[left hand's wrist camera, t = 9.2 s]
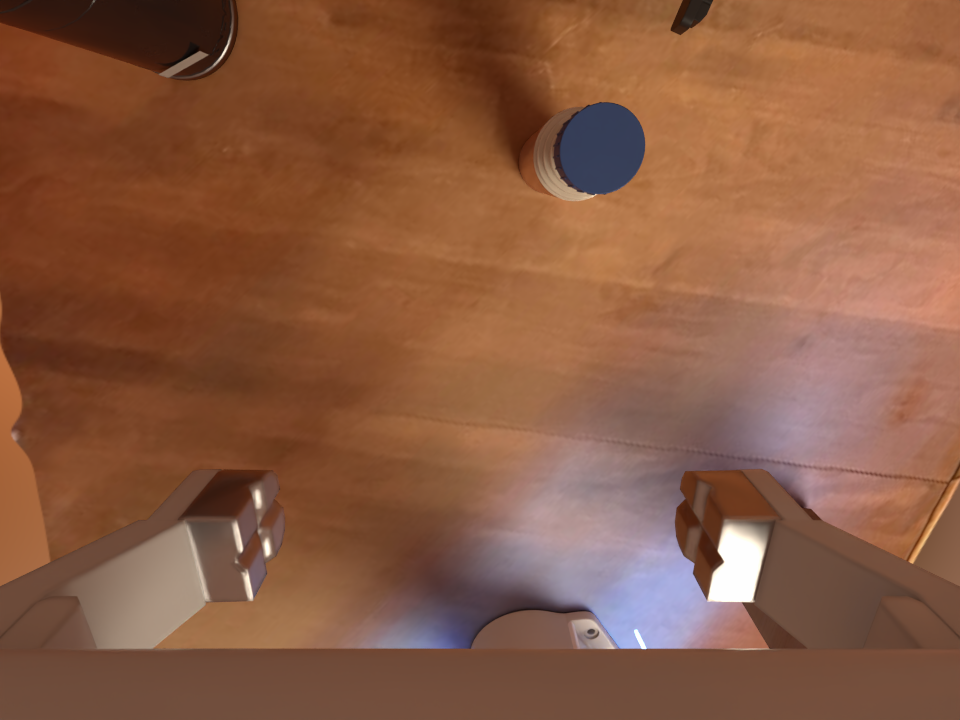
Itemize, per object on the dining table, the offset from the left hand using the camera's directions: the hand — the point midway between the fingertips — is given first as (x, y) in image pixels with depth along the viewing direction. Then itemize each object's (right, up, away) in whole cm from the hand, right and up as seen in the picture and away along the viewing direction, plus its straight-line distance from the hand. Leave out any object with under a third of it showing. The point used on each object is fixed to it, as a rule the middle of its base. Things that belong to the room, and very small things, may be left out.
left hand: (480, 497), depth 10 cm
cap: (+5, +12, +12) cm, 18 cm away
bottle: (+6, +19, +32) cm, 37 cm away
